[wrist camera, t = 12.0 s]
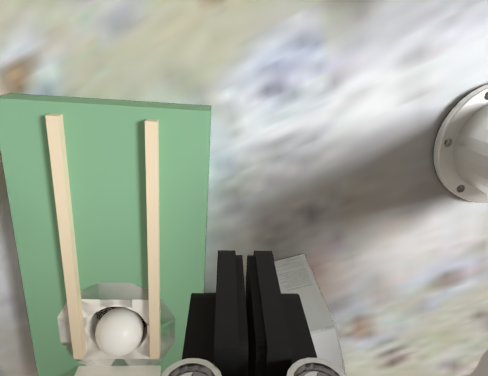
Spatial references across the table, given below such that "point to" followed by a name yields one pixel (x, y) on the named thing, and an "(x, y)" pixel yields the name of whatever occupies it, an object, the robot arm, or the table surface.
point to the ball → (119, 331)
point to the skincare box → (311, 306)
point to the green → (106, 223)
